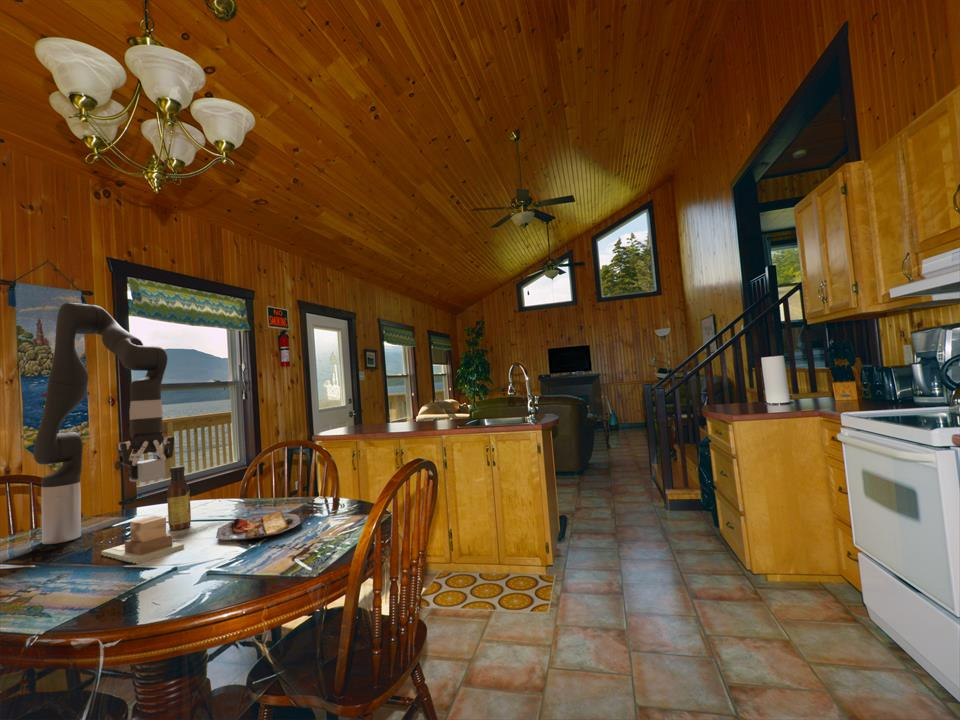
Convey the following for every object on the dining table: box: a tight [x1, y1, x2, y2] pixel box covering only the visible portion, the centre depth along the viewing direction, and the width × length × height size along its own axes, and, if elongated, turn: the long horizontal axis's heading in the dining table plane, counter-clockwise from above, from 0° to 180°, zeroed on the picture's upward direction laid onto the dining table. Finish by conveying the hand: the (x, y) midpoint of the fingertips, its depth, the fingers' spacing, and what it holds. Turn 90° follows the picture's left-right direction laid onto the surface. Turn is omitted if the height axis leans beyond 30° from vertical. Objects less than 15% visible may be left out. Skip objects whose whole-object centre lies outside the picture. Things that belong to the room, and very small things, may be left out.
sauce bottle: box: [166, 465, 192, 531], centre depth 155 cm, size 7×6×20 cm
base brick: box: [124, 533, 173, 555], centre depth 131 cm, size 8×8×3 cm
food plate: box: [215, 509, 302, 541], centre depth 147 cm, size 25×23×4 cm
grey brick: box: [129, 458, 166, 483], centre depth 132 cm, size 6×6×5 cm
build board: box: [100, 541, 185, 565], centre depth 132 cm, size 18×12×1 cm, turn 62°
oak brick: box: [129, 515, 167, 542], centre depth 131 cm, size 6×6×5 cm
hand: (147, 476), depth 132 cm, fingers closed on grey brick, 6 cm apart
